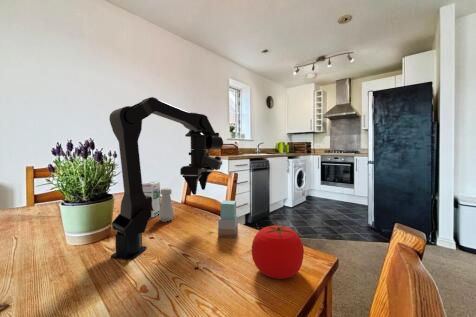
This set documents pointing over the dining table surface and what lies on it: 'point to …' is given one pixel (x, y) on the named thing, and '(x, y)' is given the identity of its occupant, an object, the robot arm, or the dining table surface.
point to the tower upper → (228, 223)
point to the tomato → (277, 251)
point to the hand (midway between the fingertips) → (199, 191)
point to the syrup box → (153, 195)
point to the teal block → (228, 209)
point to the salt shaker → (166, 205)
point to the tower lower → (227, 233)
